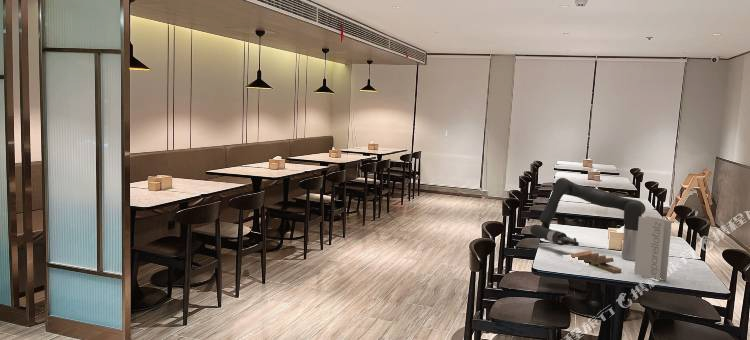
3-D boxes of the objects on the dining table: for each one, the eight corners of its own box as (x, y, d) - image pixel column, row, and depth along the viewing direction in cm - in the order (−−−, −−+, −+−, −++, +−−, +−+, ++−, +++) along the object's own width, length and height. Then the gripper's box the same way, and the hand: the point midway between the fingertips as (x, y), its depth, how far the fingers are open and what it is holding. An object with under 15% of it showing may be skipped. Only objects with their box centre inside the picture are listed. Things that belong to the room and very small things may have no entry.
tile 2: (577, 256, 311) (591, 253, 301) (584, 256, 313) (598, 252, 303) (578, 260, 311) (592, 257, 301) (585, 259, 313) (599, 256, 303)
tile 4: (590, 261, 302) (605, 258, 292) (597, 260, 304) (612, 257, 294) (591, 265, 301) (606, 262, 292) (598, 264, 303) (613, 261, 293)
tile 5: (597, 263, 297) (614, 269, 287) (605, 263, 299) (621, 268, 289) (597, 267, 297) (613, 273, 287) (604, 266, 299) (621, 272, 289)
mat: (558, 255, 321) (558, 255, 321) (573, 254, 326) (573, 253, 325) (605, 273, 288) (605, 272, 288) (621, 271, 292) (622, 270, 292)
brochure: (634, 274, 289) (638, 216, 286) (641, 273, 291) (646, 215, 288) (659, 282, 276) (664, 221, 273) (666, 280, 279) (671, 221, 276)
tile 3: (583, 259, 307) (598, 255, 297) (591, 258, 308) (605, 255, 299) (584, 262, 306) (599, 259, 296) (591, 262, 308) (606, 259, 298)
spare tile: (570, 254, 316) (584, 251, 306) (577, 253, 318) (591, 250, 308) (571, 258, 316) (584, 255, 306) (578, 257, 317) (592, 254, 308)
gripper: (548, 231, 327) (568, 238, 311) (566, 230, 332) (587, 237, 316) (547, 244, 328) (567, 251, 312) (565, 243, 333) (586, 250, 317)
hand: (577, 244), depth 314 cm, fingers closed
